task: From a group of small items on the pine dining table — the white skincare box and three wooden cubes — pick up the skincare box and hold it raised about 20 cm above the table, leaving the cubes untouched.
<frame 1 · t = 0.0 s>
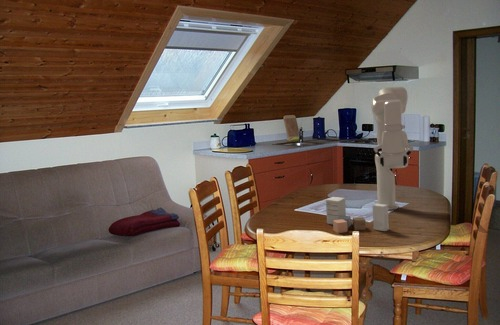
hand: (393, 165, 226), 31 cm above the table, tool pointing down, fingers open, 9 cm apart
walnut cube: (359, 228, 239), on the table
skincare box: (380, 230, 235), on the table
supplement box: (336, 223, 251), on the table
slate blue cube: (344, 227, 243), on the table
terracotta cube: (340, 231, 237), on the table
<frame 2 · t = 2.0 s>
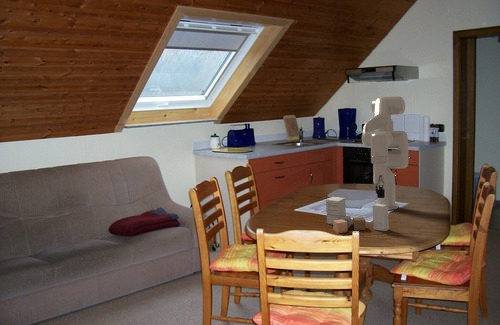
hand: (380, 195, 232), 17 cm above the table, tool pointing down, fingers open, 9 cm apart
nothing on the table moved.
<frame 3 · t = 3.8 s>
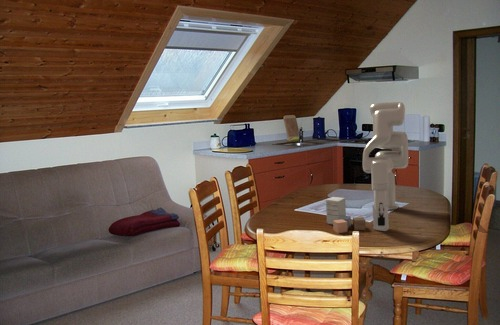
hand: (380, 223, 235), 3 cm above the table, tool pointing down, fingers closed on skincare box, 6 cm apart
skincare box: (380, 230, 235), on the table, touching gripper
everything else where it was.
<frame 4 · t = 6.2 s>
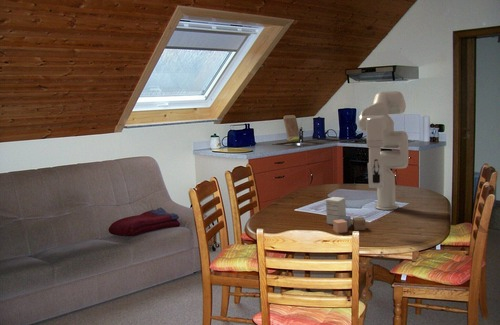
hand: (375, 180, 234), 23 cm above the table, tool pointing down, fingers closed on skincare box, 6 cm apart
skincare box: (375, 187, 234), point 20 cm above the table, touching gripper
everything else where it was.
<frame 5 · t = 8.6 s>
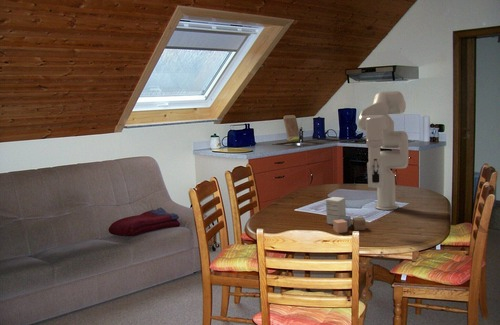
hand: (375, 180, 234), 23 cm above the table, tool pointing down, fingers closed on skincare box, 6 cm apart
skincare box: (375, 187, 234), point 20 cm above the table, touching gripper
everything else where it was.
at the end: the gripper is holding skincare box; skincare box point 20.0 cm above the table; walnut cube moved 0.1 cm from its start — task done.
